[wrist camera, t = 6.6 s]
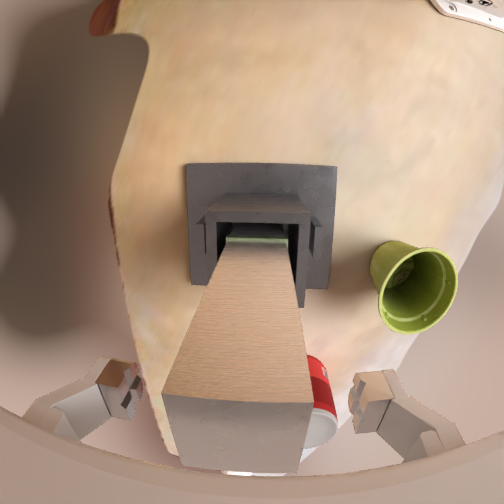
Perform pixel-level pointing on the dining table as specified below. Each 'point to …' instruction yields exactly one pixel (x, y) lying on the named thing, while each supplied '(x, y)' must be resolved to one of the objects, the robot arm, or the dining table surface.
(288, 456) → the column
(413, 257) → the plant pot
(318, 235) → the stand
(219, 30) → the dining table surface
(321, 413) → the canned food
